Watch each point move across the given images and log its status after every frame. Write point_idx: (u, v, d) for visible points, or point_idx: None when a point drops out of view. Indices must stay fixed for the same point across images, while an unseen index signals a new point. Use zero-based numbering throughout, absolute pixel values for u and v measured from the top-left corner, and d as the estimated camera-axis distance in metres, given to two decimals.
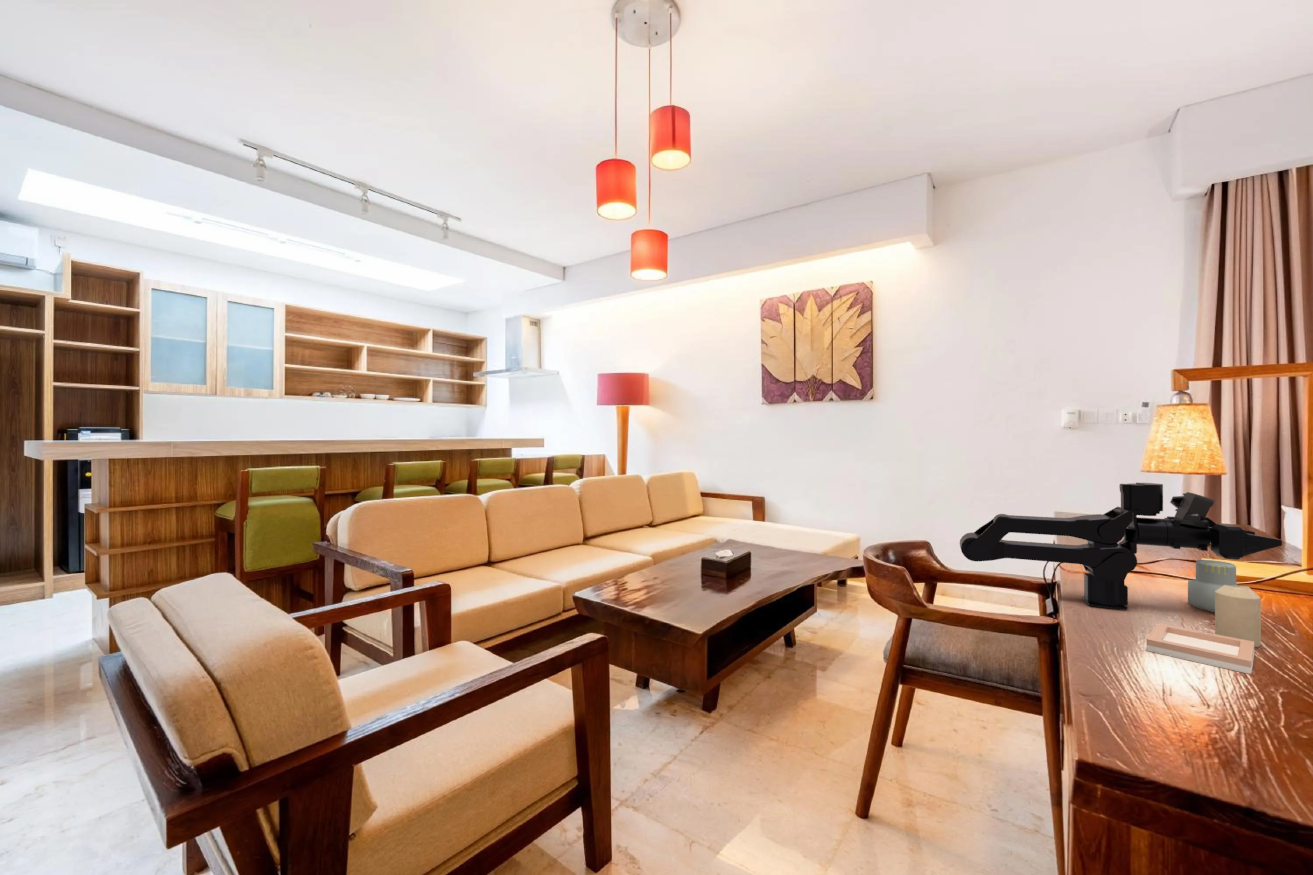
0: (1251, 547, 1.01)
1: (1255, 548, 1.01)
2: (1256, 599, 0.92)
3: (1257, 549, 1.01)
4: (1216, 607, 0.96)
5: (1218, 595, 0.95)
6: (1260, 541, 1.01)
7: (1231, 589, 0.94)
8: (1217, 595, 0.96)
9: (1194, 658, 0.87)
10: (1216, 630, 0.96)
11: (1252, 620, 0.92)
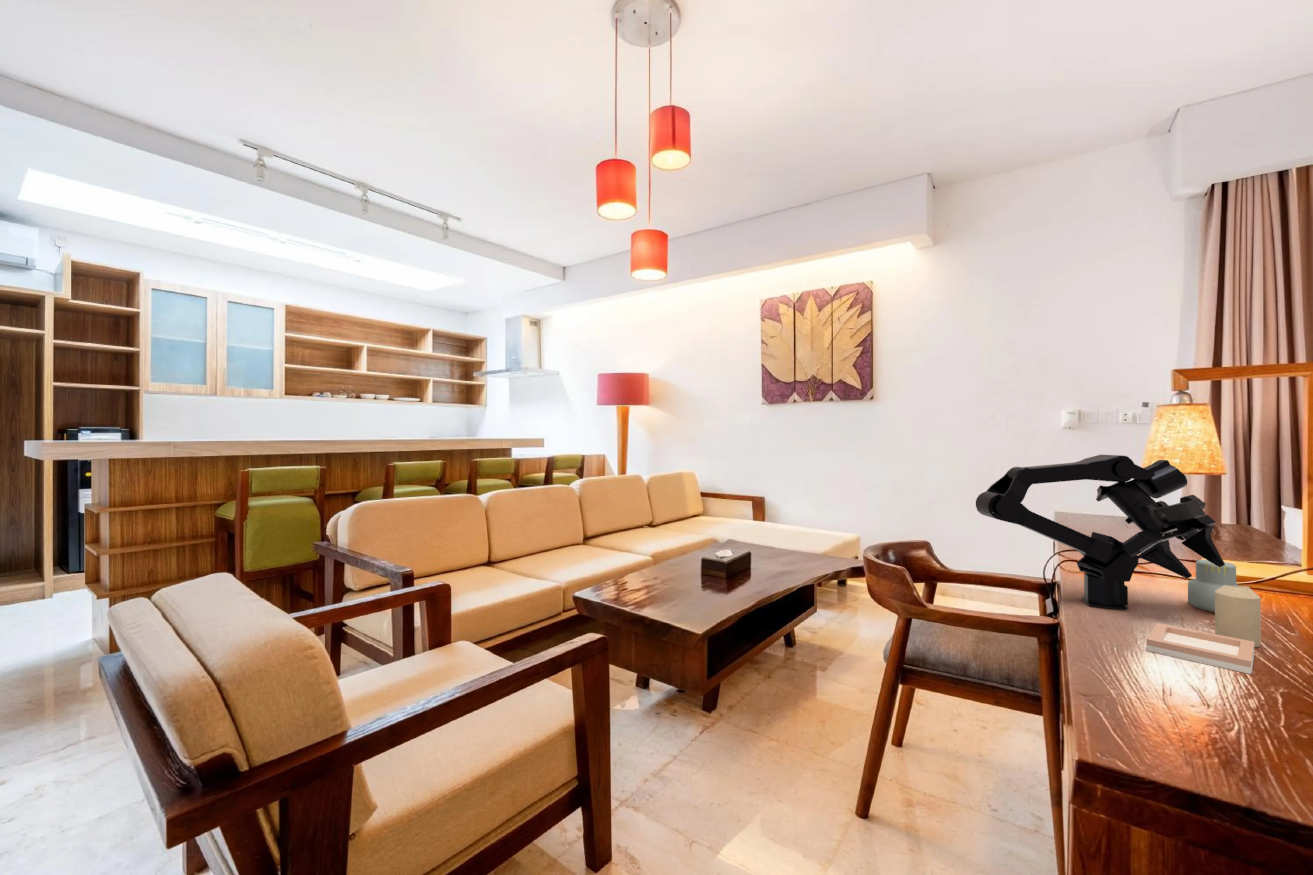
0: (1159, 560, 1.06)
1: (1161, 563, 1.06)
2: (1256, 599, 0.92)
3: (1162, 565, 1.06)
4: (1216, 607, 0.96)
5: (1218, 595, 0.95)
6: (1171, 563, 1.04)
7: (1231, 589, 0.94)
8: (1217, 595, 0.96)
9: (1194, 658, 0.87)
10: (1216, 630, 0.96)
11: (1252, 620, 0.92)
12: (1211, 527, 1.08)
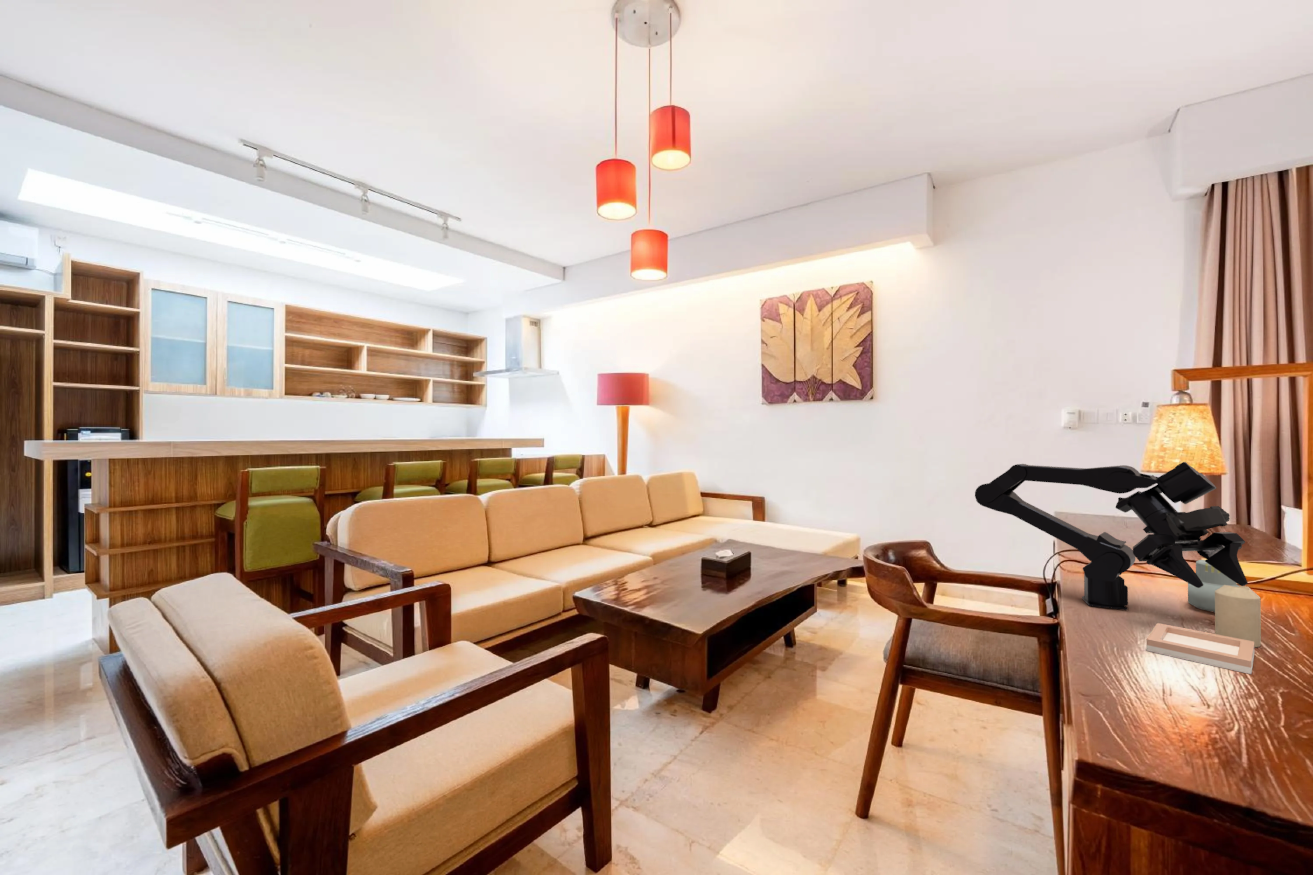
0: (1170, 567, 1.01)
1: (1172, 570, 1.00)
2: (1256, 599, 0.92)
3: (1173, 572, 1.00)
4: (1216, 607, 0.96)
5: (1218, 595, 0.95)
6: (1182, 570, 0.99)
7: (1231, 589, 0.94)
8: (1217, 595, 0.96)
9: (1194, 658, 0.87)
10: (1216, 630, 0.96)
11: (1252, 620, 0.92)
12: (1238, 544, 1.01)
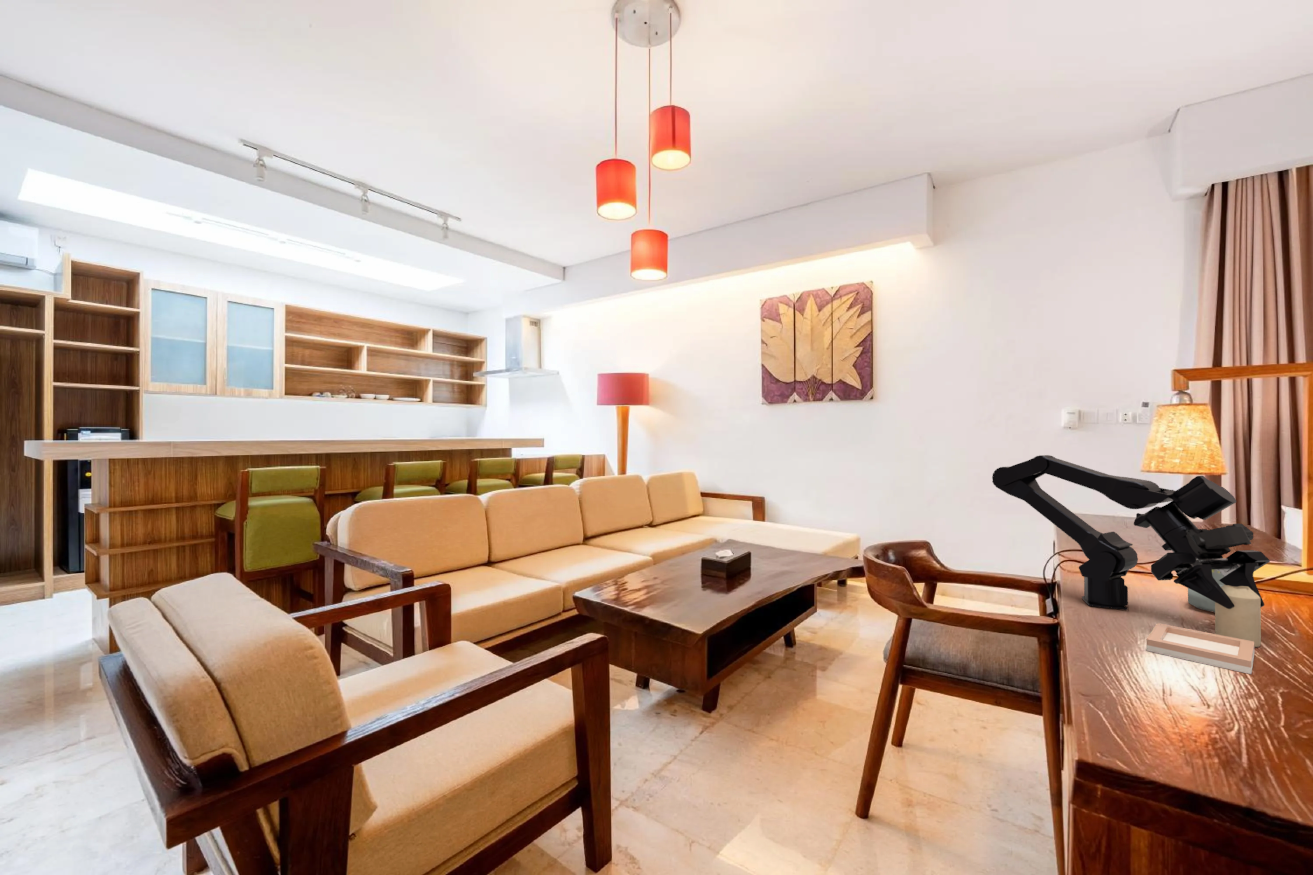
0: (1199, 587, 0.97)
1: (1201, 590, 0.97)
2: (1256, 599, 0.92)
3: (1202, 592, 0.97)
4: (1216, 607, 0.96)
5: None
6: (1212, 590, 0.95)
7: (1231, 589, 0.94)
8: None
9: (1194, 658, 0.87)
10: (1216, 630, 0.96)
11: (1252, 620, 0.92)
12: (1254, 564, 0.97)
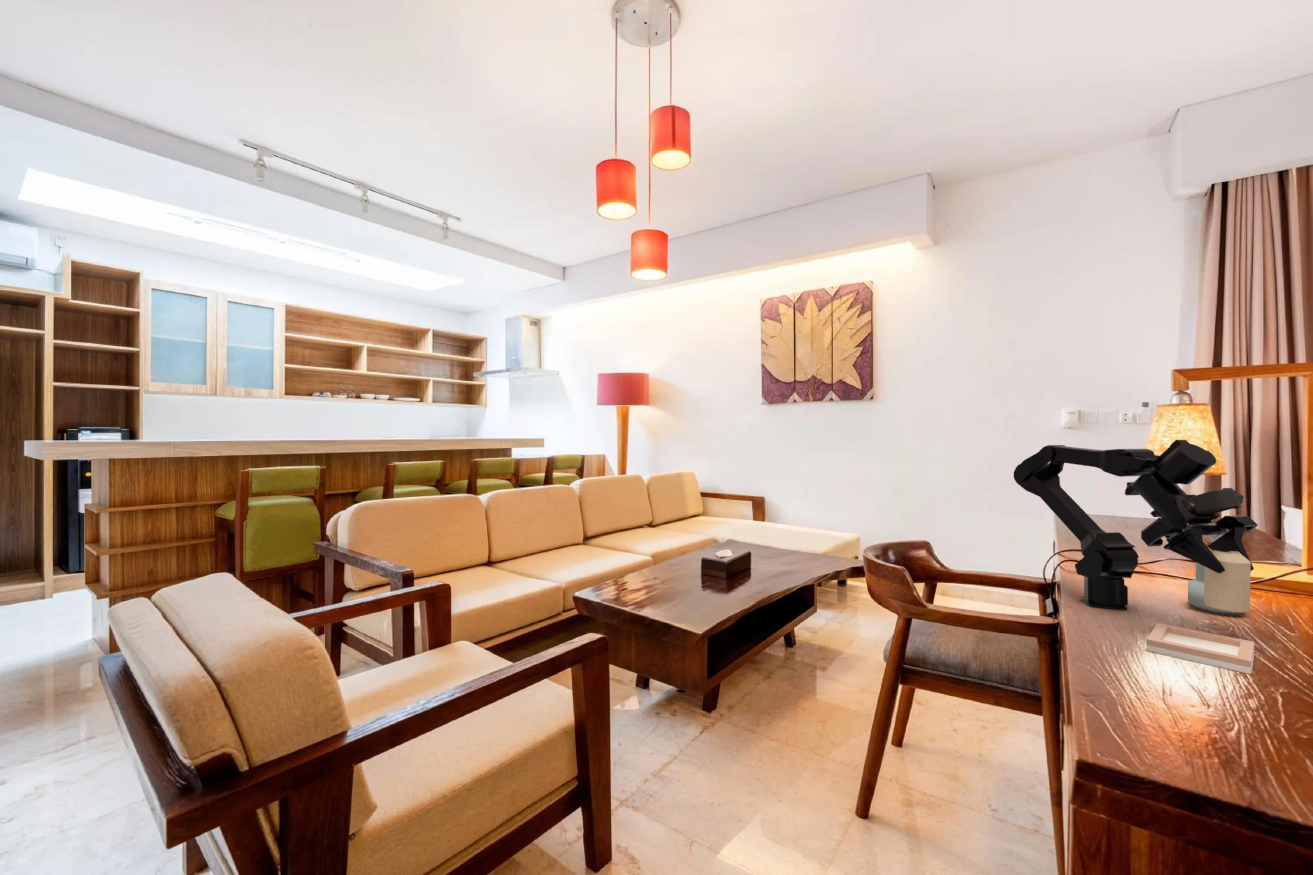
0: (1189, 552, 0.95)
1: (1191, 555, 0.95)
2: (1247, 563, 0.91)
3: (1192, 558, 0.95)
4: (1206, 573, 0.94)
5: None
6: (1202, 555, 0.94)
7: (1222, 554, 0.93)
8: None
9: (1194, 658, 0.87)
10: (1205, 596, 0.95)
11: (1242, 585, 0.91)
12: (1243, 528, 0.95)
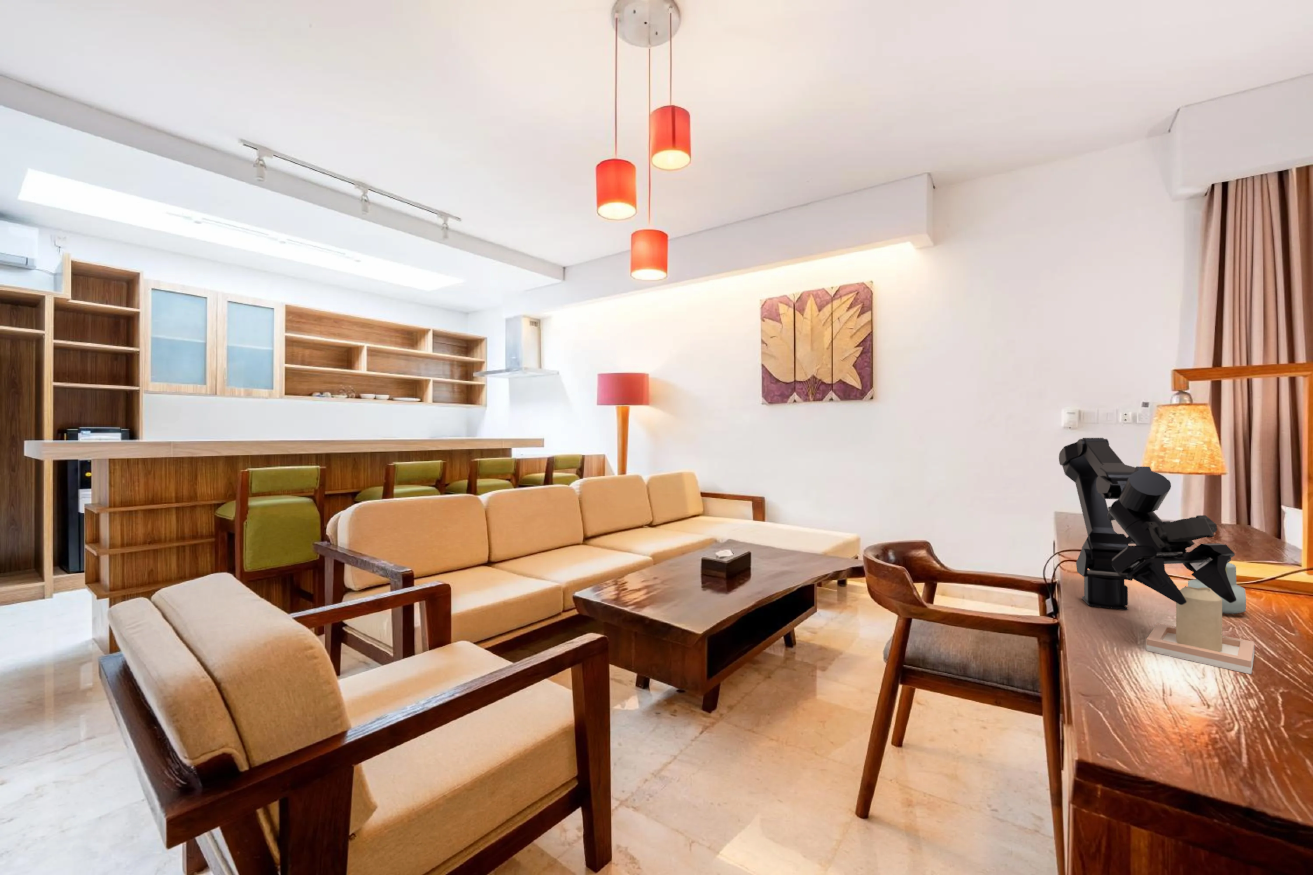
0: (1152, 582, 0.93)
1: (1153, 585, 0.92)
2: (1217, 601, 0.88)
3: (1154, 588, 0.92)
4: (1177, 609, 0.92)
5: None
6: (1164, 585, 0.91)
7: (1192, 590, 0.90)
8: None
9: (1194, 658, 0.87)
10: (1177, 633, 0.92)
11: (1213, 623, 0.88)
12: (1226, 557, 0.92)
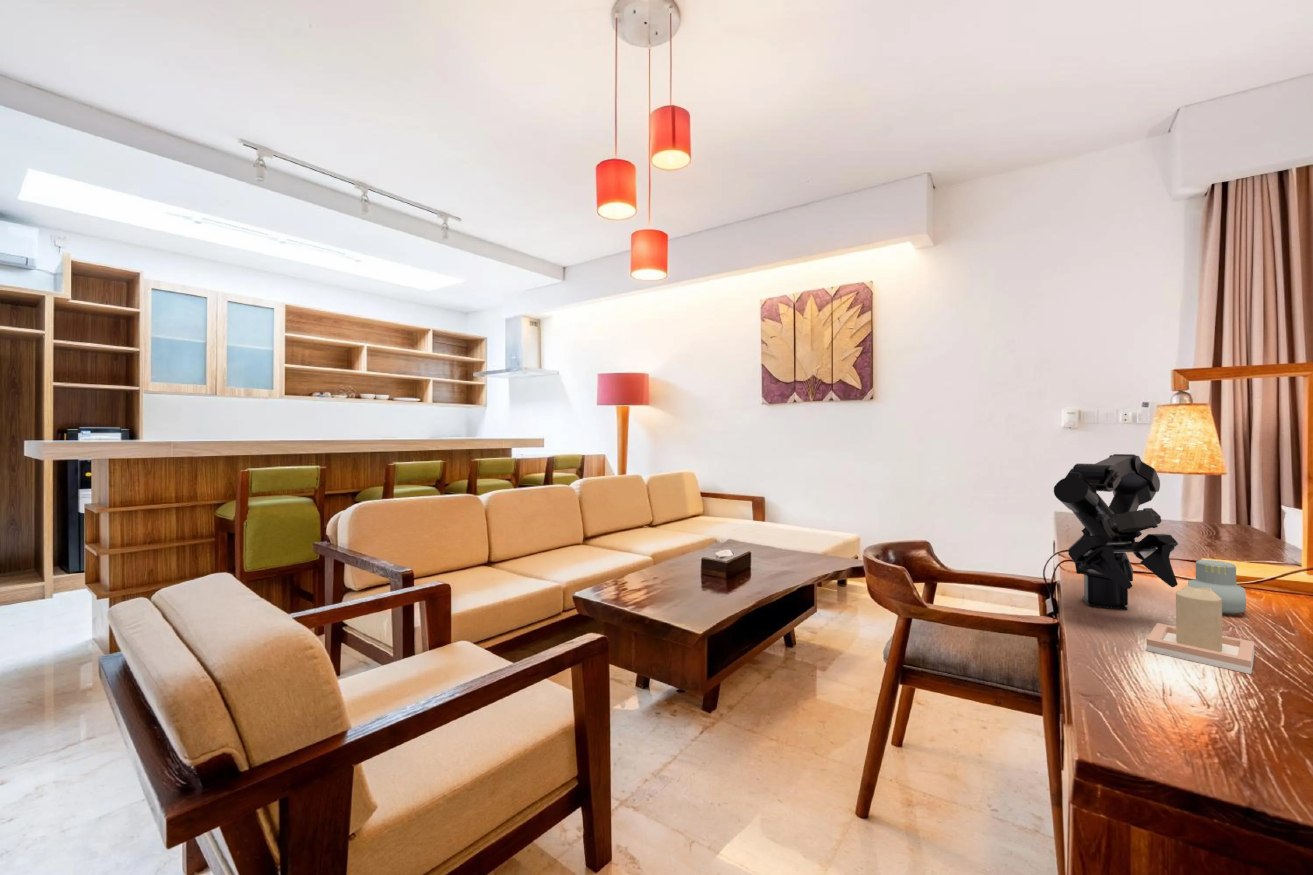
0: (1103, 569, 1.02)
1: (1104, 571, 1.02)
2: (1217, 601, 0.88)
3: (1105, 574, 1.01)
4: (1177, 609, 0.92)
5: (1179, 597, 0.91)
6: (1113, 571, 1.00)
7: (1192, 590, 0.90)
8: (1178, 597, 0.92)
9: (1194, 658, 0.87)
10: (1177, 633, 0.92)
11: (1213, 623, 0.88)
12: (1170, 546, 1.02)
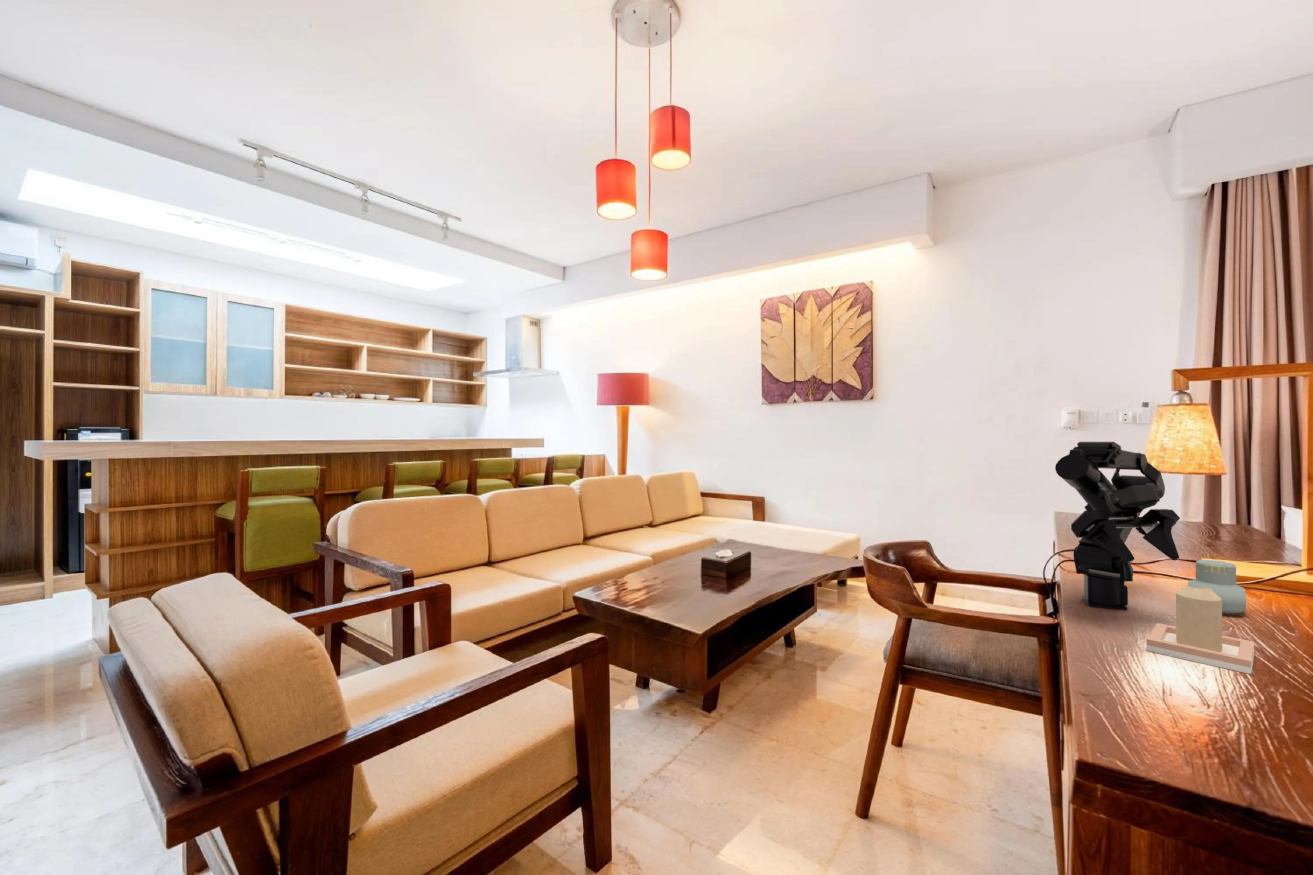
0: (1105, 543, 1.03)
1: (1107, 545, 1.03)
2: (1217, 601, 0.88)
3: (1107, 548, 1.03)
4: (1177, 609, 0.92)
5: (1179, 597, 0.91)
6: (1115, 545, 1.01)
7: (1192, 591, 0.90)
8: (1178, 597, 0.92)
9: (1194, 658, 0.87)
10: (1177, 633, 0.92)
11: (1213, 623, 0.88)
12: (1172, 520, 1.03)
